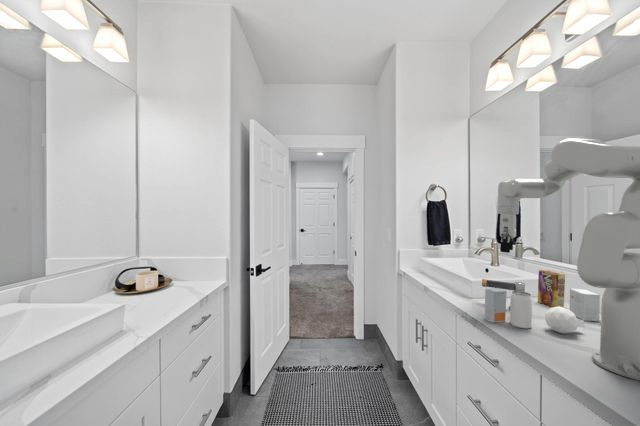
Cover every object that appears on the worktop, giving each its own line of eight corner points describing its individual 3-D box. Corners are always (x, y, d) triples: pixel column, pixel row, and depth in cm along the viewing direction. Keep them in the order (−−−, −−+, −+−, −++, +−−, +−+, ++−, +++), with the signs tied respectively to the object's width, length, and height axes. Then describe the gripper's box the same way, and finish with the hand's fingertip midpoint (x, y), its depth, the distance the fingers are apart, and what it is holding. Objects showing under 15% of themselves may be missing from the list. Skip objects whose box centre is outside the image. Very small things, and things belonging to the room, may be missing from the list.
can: (506, 323, 105) (506, 291, 105) (516, 320, 107) (517, 289, 107) (524, 330, 99) (525, 296, 99) (535, 327, 102) (536, 294, 101)
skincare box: (493, 323, 105) (494, 291, 104) (484, 318, 109) (484, 288, 109) (506, 321, 106) (507, 290, 106) (496, 317, 110) (497, 287, 110)
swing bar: (524, 293, 117) (525, 284, 117) (481, 287, 125) (481, 278, 125) (524, 291, 120) (524, 282, 120) (482, 285, 128) (482, 277, 128)
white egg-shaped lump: (562, 334, 92) (595, 338, 93) (558, 305, 95) (590, 309, 96) (539, 331, 100) (570, 334, 101) (536, 304, 103) (566, 308, 104)
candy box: (564, 308, 122) (565, 273, 122) (557, 309, 121) (558, 274, 121) (544, 301, 131) (545, 269, 131) (537, 302, 130) (538, 269, 130)
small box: (599, 322, 107) (600, 295, 107) (582, 320, 109) (583, 293, 108) (584, 314, 115) (585, 289, 115) (568, 313, 116) (569, 288, 116)
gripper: (516, 210, 108) (515, 254, 109) (521, 210, 122) (519, 249, 122) (494, 210, 113) (492, 252, 114) (500, 210, 126) (499, 247, 127)
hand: (506, 250), depth 118 cm, fingers open, 9 cm apart
